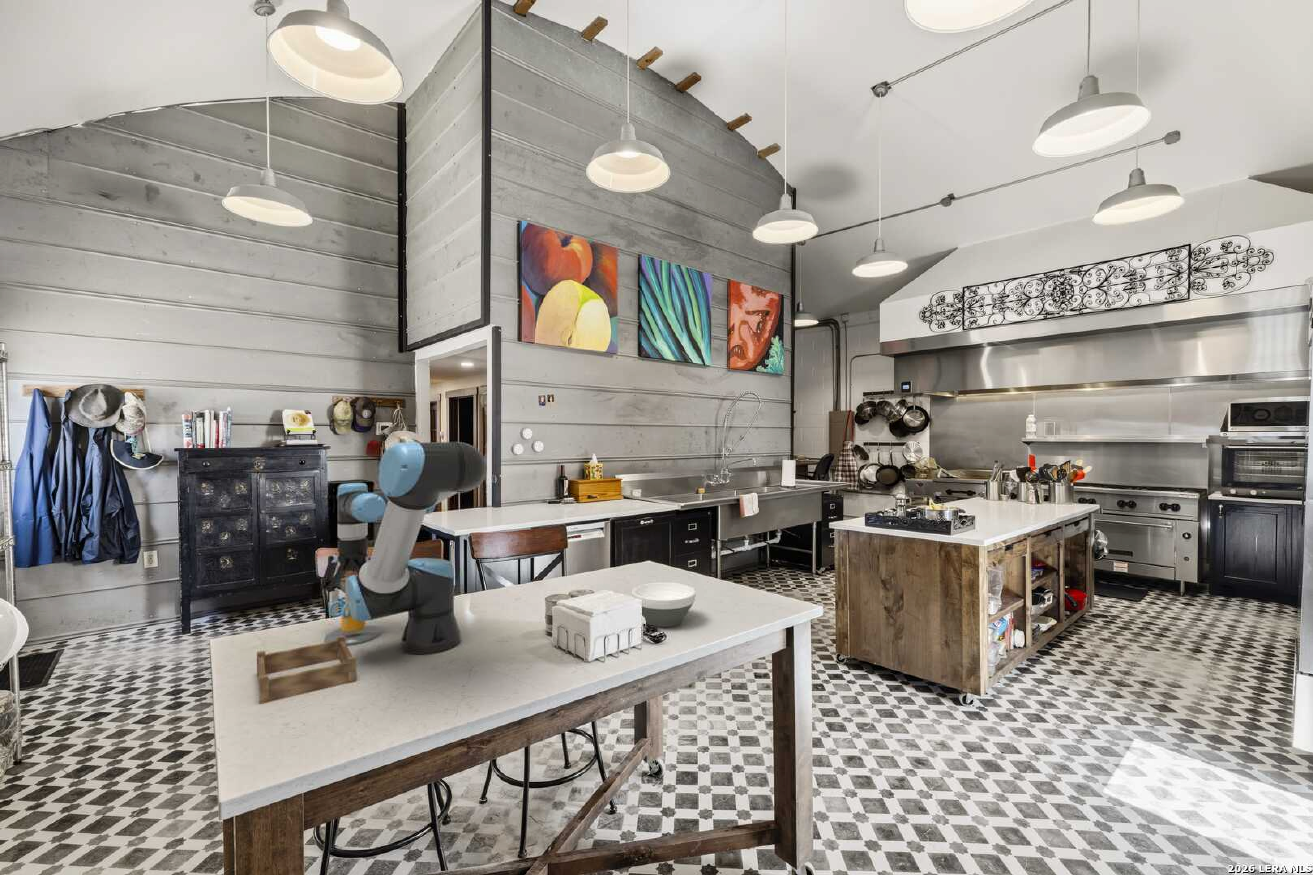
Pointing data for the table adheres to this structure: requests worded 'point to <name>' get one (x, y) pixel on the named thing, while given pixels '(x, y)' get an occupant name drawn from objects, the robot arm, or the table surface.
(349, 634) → the trivet
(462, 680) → the table surface
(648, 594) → the bowl
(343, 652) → the crate
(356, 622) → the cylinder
